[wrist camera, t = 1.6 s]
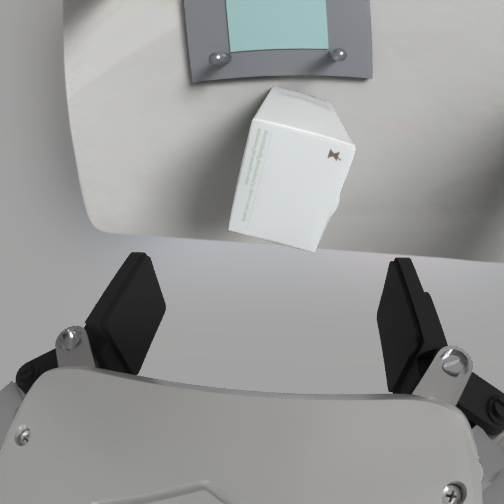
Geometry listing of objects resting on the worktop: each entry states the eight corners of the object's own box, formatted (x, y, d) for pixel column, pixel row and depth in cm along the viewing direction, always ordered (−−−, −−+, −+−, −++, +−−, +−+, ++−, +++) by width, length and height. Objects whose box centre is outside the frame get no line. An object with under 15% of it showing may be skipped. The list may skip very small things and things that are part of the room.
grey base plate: (360, -58, 17) (362, -62, 16) (370, 77, 26) (372, 78, 25) (183, -48, 20) (179, -51, 19) (195, 81, 29) (191, 82, 28)
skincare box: (272, 84, 28) (248, 109, 16) (335, 102, 29) (363, 143, 16) (254, 156, 33) (221, 231, 21) (312, 173, 34) (316, 258, 21)
